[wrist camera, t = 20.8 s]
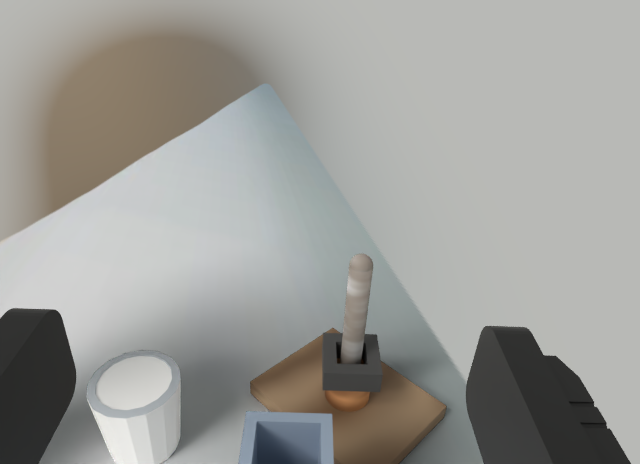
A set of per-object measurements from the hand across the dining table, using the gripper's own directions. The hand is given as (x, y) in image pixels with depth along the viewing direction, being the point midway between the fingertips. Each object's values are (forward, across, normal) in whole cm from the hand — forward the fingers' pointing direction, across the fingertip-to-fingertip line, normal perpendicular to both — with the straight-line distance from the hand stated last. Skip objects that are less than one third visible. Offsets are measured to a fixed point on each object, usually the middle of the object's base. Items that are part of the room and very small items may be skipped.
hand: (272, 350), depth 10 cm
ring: (+24, -5, +26) cm, 36 cm away
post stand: (+24, -5, +30) cm, 39 cm away
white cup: (+20, +12, +30) cm, 38 cm away
